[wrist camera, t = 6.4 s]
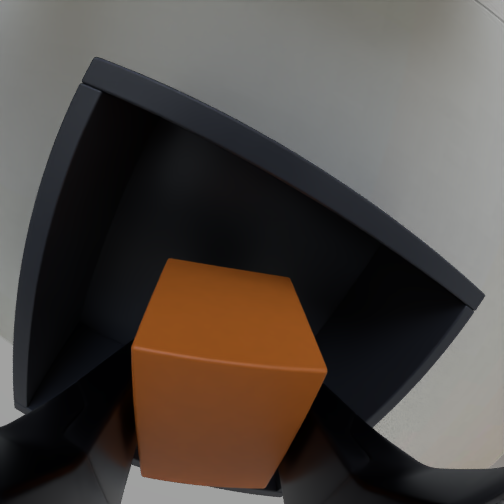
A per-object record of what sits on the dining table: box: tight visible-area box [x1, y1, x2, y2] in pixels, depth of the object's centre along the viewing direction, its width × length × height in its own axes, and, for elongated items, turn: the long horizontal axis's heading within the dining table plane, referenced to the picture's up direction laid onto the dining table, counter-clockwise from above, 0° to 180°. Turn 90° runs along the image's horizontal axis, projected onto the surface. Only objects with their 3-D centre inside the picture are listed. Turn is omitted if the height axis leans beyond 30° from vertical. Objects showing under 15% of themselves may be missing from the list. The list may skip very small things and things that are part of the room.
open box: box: [13, 57, 485, 497], centre depth 11 cm, size 12×12×7 cm
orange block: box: [131, 258, 327, 489], centre depth 8 cm, size 5×4×4 cm
